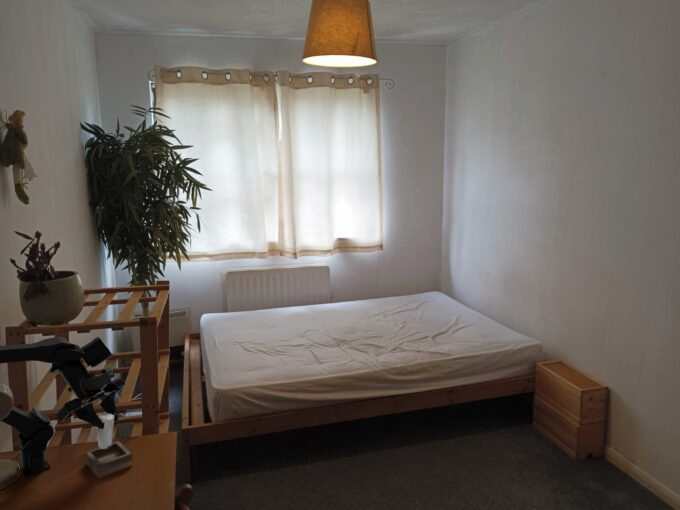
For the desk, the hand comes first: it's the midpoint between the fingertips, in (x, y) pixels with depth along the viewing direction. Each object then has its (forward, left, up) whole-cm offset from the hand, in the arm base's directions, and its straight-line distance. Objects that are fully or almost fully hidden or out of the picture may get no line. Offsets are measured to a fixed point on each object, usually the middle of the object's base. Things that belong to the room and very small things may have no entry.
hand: (110, 424), depth 143 cm
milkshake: (-1, -1, -7) cm, 7 cm away
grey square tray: (-2, 0, -13) cm, 13 cm away
